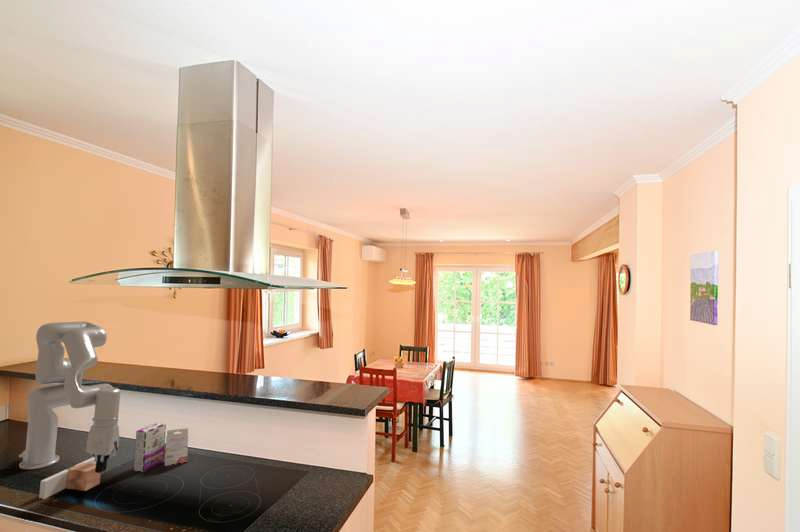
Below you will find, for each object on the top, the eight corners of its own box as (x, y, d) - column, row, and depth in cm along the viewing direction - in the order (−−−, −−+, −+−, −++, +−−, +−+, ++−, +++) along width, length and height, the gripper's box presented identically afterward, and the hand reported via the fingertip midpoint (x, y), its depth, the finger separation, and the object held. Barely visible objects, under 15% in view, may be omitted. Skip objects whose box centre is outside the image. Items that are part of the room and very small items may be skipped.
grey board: (38, 498, 143) (40, 480, 143) (94, 471, 164) (95, 455, 165) (44, 499, 142) (45, 480, 143) (98, 471, 164) (100, 456, 164)
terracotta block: (66, 488, 150) (68, 469, 151) (81, 481, 156) (83, 462, 157) (85, 491, 149) (87, 471, 149) (99, 483, 155) (101, 464, 155)
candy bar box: (154, 460, 177) (157, 421, 178) (163, 461, 176) (166, 423, 177) (132, 471, 166) (135, 430, 167) (142, 472, 165) (146, 431, 166)
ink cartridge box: (186, 458, 180) (189, 424, 181) (186, 463, 175) (189, 428, 176) (164, 461, 176) (167, 427, 177) (163, 466, 171) (166, 430, 172)
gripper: (79, 422, 150) (74, 473, 150) (114, 427, 148) (109, 478, 147) (97, 416, 158) (92, 464, 157) (131, 420, 156) (126, 469, 155)
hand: (100, 471), depth 152 cm, fingers closed
